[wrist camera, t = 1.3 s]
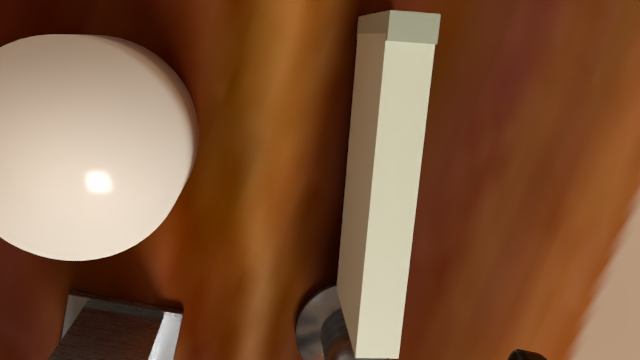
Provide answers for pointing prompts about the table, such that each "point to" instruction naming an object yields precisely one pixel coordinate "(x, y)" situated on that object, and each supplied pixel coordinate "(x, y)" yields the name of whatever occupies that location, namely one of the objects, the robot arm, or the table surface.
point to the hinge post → (324, 328)
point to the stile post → (117, 329)
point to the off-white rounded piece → (89, 144)
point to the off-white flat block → (383, 175)
